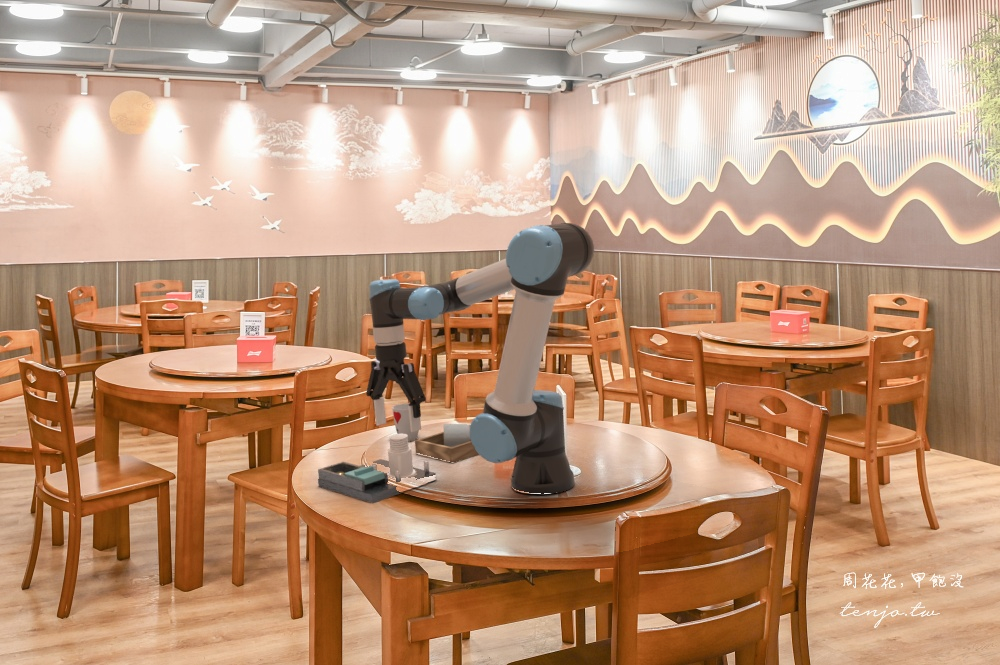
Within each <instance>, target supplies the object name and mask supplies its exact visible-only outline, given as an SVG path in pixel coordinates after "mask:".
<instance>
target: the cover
mask: <svg viewBox="0 0 1000 665" xmlns="http://www.w3.org/2000/svg"><path fill="white" fill-rule="evenodd" d="M344 474H345V476H348V477H352V478H355V479H359V480H362V481H364V484H365V485H366V484H369V483H372V482H375V481H378V480H381V479H384V478H385V475H384V472H381V471H377V470H374V468H373V466H369V467H363V468H359V469H356V470H353V471H350V472H347V473H344Z"/></svg>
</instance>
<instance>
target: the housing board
mask: <svg viewBox="0 0 1000 665" xmlns="http://www.w3.org/2000/svg"><path fill="white" fill-rule="evenodd" d="M372 462H373V463H377V464H381V465H384V466H385V467H389V460H386V459H377V460H373V461H372ZM429 462H430V461H429V460H424V461H423V468H424V469H421V468H417V467H414V466H413V469H414V470H415V471H416V473H415V474H414V475H413V476H410V477H408V478H411V477H415V478H417V479H420V478H424V477H429V476H433V475H436V476H437V473H436V472H434V471H430V463H429ZM372 466H373V468H374V470H377V465H376V464H372ZM363 467H365V465H364V464H362V465H361V464H360V465H358V464H354V463H351V462H346V461H341V462H338V463H335V464H331V465H328V466H325V467H321V468H318V469H317V471H318V478H317V481H318V482H317V484H318V487H319V488H322V489H325V490H328V491H331V492H335V493H338V494H341V495H344V496H347V497H351V498H354V499H358V500H360V501H364V502H367V503H371V504H375V503H378V502H380V501H383V500H386V499H389V498H392V497H394V496H397V495H399V494H401V493H399V491H397V490H396V487H397V486H393V485H390V484H387V482H388V475H387V473H384V475H385V478H384V479H381V480H378V481H375V482H372V483H369V484H366V485H365V484H364V481H362V480H359V479H355V478H352V477H348V476H345V474H344V473H347V472H350V471H353V470H356V469H359V468H363ZM395 478H396V482H400V481H401V477H400V470H396V471H395ZM417 479H416V480H417Z"/></svg>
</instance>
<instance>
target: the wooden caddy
mask: <svg viewBox="0 0 1000 665" xmlns="http://www.w3.org/2000/svg"><path fill="white" fill-rule="evenodd" d="M414 443H415V444H414V446H415V454H416V453H420V454H423V455H427V456H431V457H434V458H438V459H442V460H446V461H450V462H455V463H457V462H456V461H458V462H460V461H459V460H461V461H463V460H466V459H468V458H472V457H475V456H477V455H479V454H478V453H477V451H476V450H475V447H474V446H473V445H472V442H471V441H469V442H466V443H463V444H460V445H457V446H454V447H449V446H444V431H442V432H441V431H440V432H439V433H434V434H432V435H428V436H426V437H422V438H417V439H416V440H414Z"/></svg>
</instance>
